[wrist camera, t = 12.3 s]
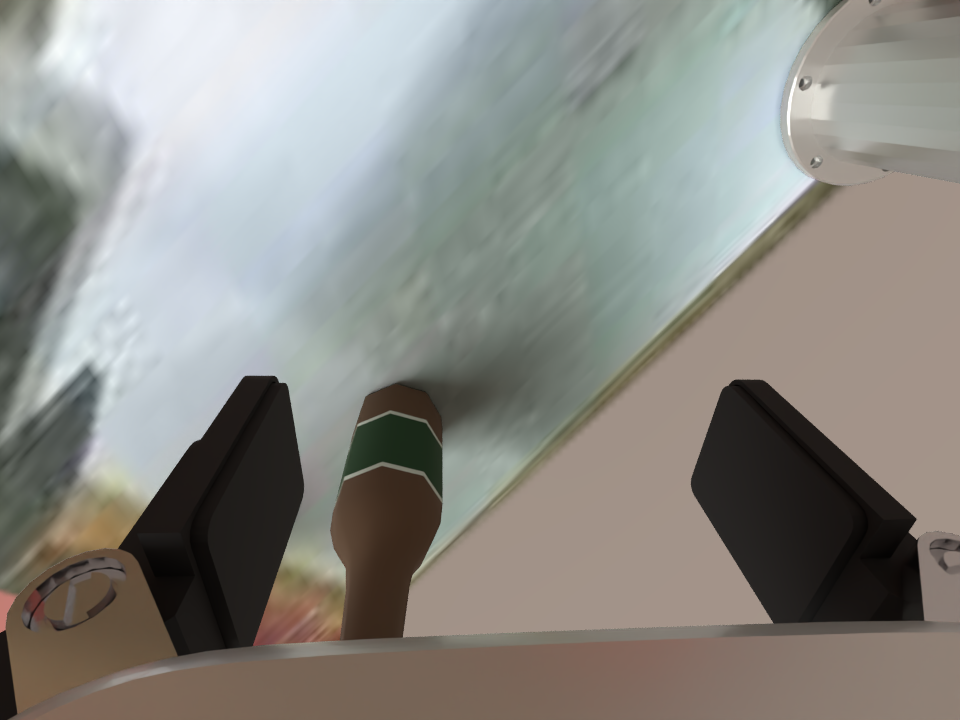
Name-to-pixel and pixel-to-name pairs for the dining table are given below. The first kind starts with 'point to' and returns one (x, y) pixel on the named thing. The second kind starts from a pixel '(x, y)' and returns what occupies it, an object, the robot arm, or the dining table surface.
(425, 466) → the beer bottle
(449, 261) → the dining table surface
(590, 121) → the dining table surface
